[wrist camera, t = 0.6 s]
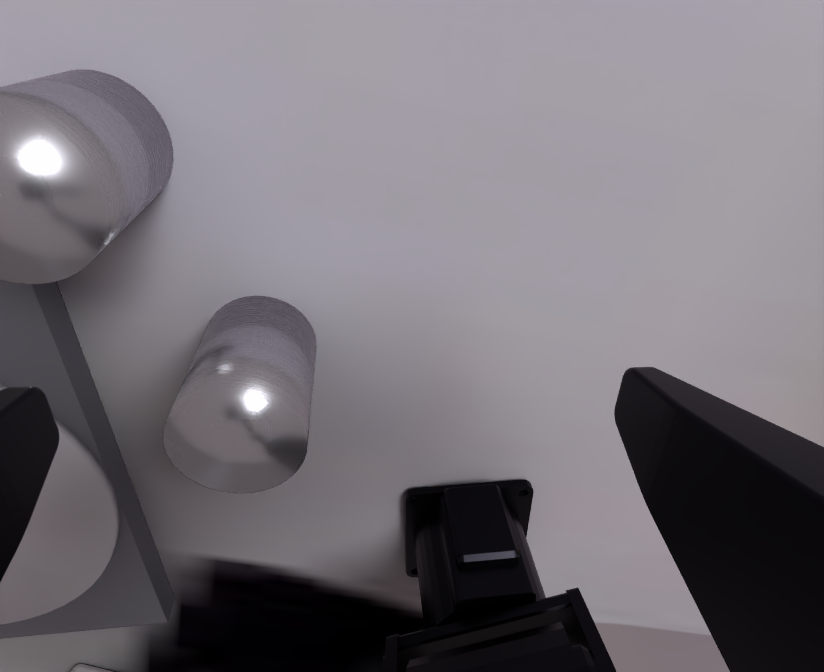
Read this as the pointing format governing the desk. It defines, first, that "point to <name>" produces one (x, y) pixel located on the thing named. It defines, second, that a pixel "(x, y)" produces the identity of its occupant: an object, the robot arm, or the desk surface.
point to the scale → (73, 492)
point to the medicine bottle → (88, 669)
